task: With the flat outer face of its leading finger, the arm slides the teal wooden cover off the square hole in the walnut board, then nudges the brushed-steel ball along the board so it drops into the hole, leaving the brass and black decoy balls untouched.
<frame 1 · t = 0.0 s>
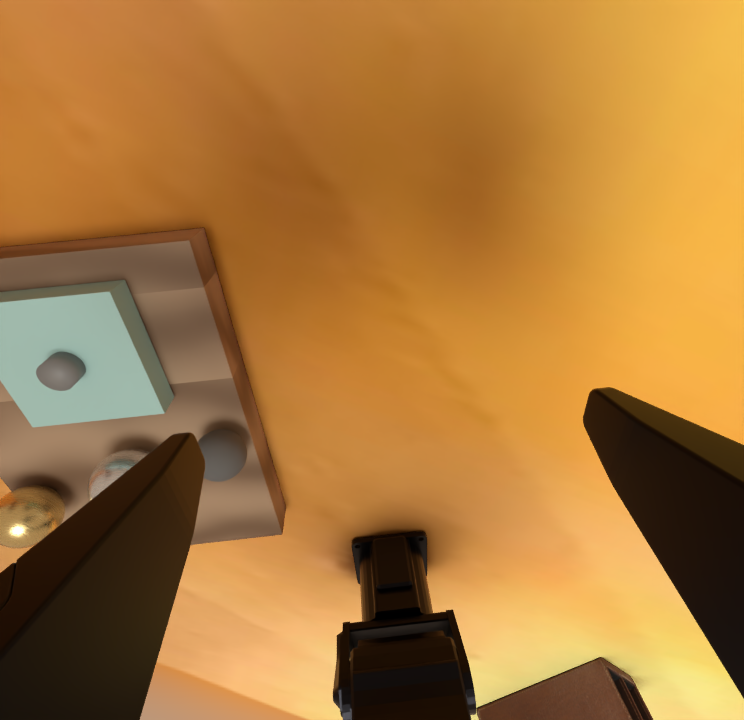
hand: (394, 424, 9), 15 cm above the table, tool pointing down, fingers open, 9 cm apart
steel ball: (129, 483, 23), point 4 cm above the table, touching board
cover: (70, 363, 20), point 4 cm above the table, slide at 0.0 cm
board: (131, 411, 26), on the table
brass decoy: (28, 516, 25), point 4 cm above the table, touching board
black decoy: (220, 455, 24), point 4 cm above the table, touching board
letter holder: (551, 689, 57), on the table
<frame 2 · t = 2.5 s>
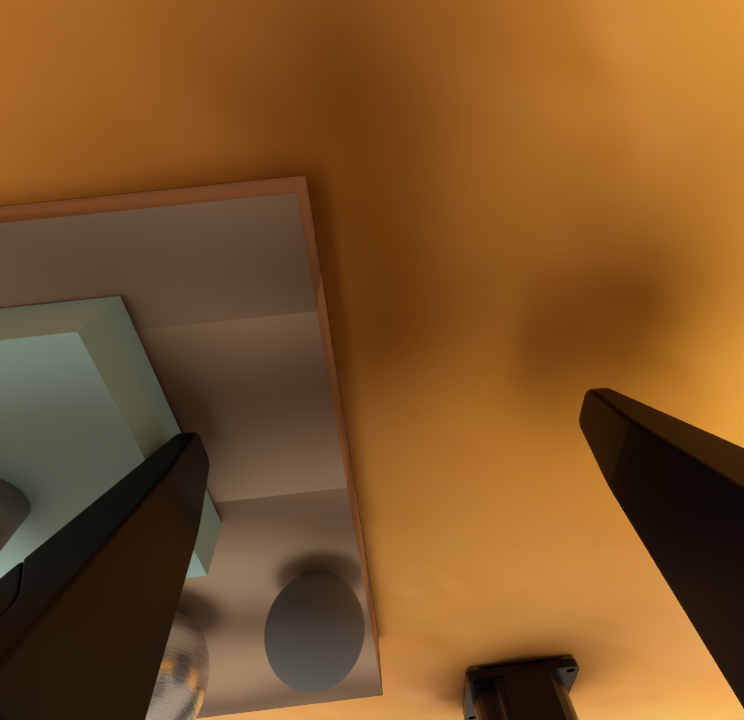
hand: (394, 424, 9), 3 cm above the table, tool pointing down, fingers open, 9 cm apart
steel ball: (138, 684, 12), point 4 cm above the table, touching board
board: (140, 521, 15), on the table
black decoy: (315, 628, 12), point 4 cm above the table, touching board
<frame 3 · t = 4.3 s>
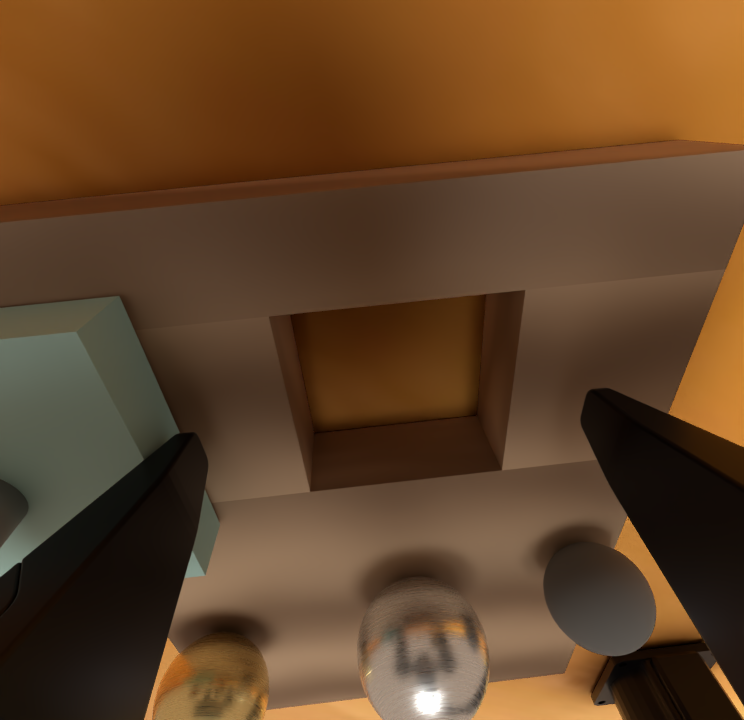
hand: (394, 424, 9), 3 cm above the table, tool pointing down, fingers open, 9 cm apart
steel ball: (421, 650, 12), point 4 cm above the table, touching board
board: (373, 494, 15), on the table
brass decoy: (213, 696, 13), point 4 cm above the table, touching board
black decoy: (596, 595, 12), point 4 cm above the table, touching board
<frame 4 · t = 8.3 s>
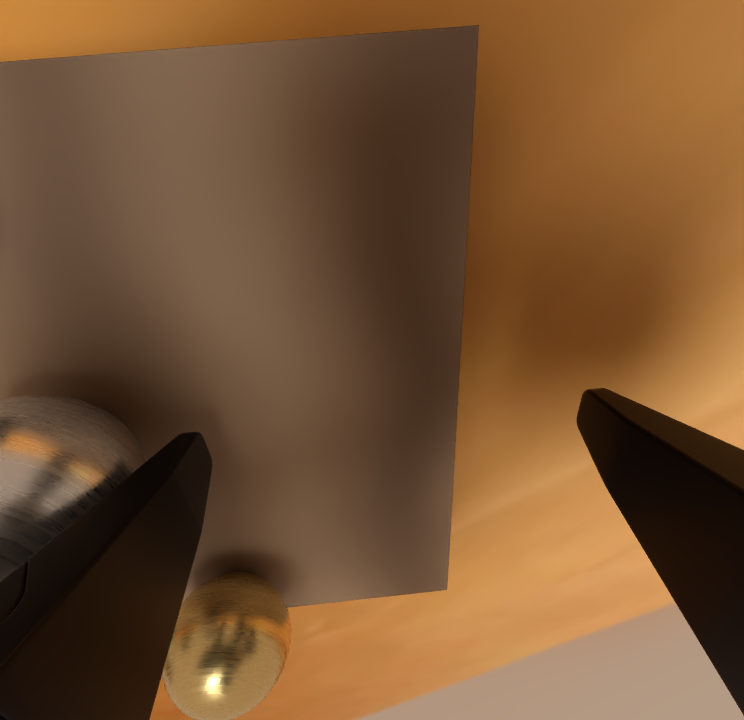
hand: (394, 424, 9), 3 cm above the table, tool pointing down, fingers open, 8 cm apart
steel ball: (33, 495, 8), point 4 cm above the table, touching board, gripper
board: (77, 406, 12), on the table
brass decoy: (229, 640, 12), point 4 cm above the table, touching board
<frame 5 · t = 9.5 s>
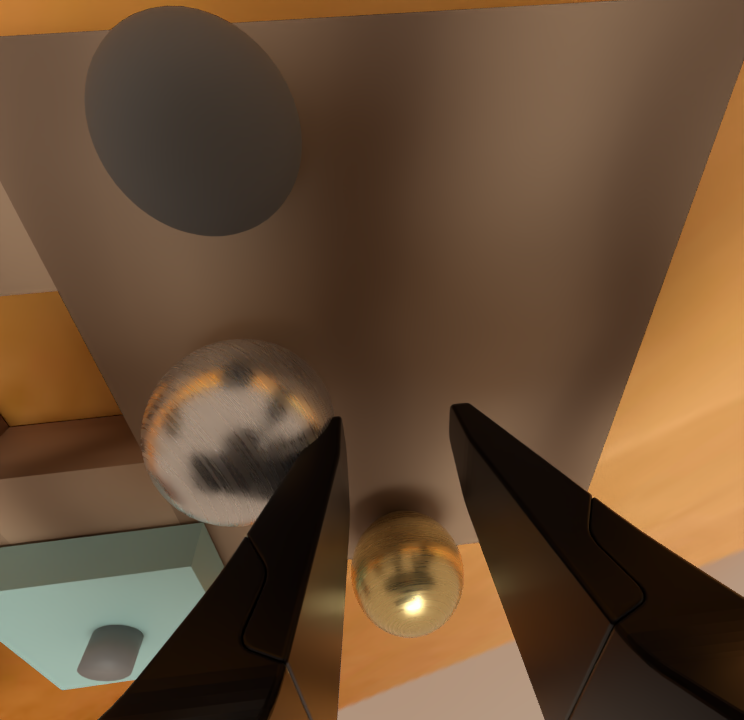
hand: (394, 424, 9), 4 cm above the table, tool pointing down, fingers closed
steel ball: (244, 429, 9), point 4 cm above the table, tilted 46°, touching board, gripper
cover: (121, 628, 14), point 4 cm above the table, slide at 9.1 cm
board: (260, 357, 13), on the table
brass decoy: (406, 570, 13), point 4 cm above the table, touching board
black decoy: (203, 135, 6), point 4 cm above the table, touching board
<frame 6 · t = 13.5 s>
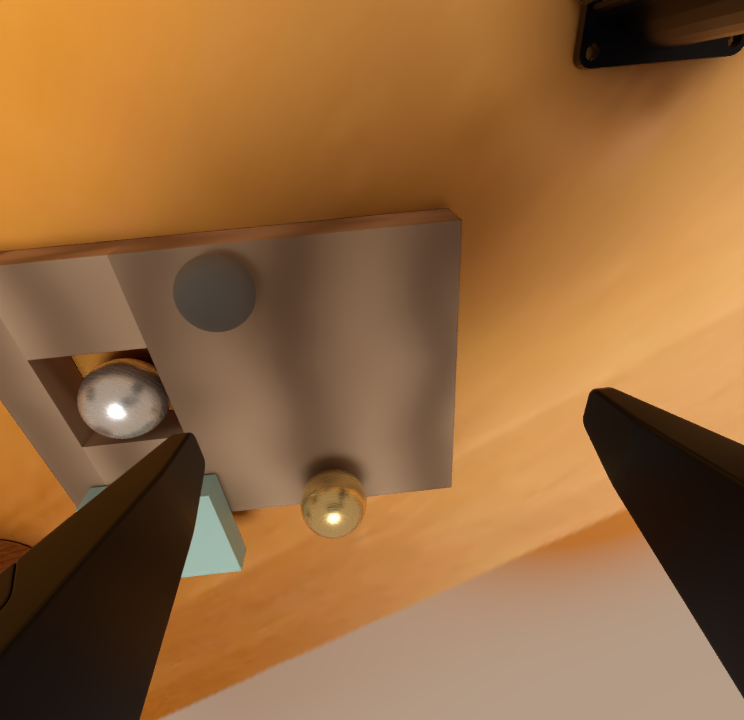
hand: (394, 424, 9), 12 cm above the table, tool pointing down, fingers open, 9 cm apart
steel ball: (126, 398, 20), point 2 cm above the table, tilted 153°
disposable coffee cup: (9, 562, 29), on the table
cover: (167, 539, 23), point 4 cm above the table, slide at 9.1 cm
board: (249, 377, 22), on the table
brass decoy: (333, 502, 22), point 4 cm above the table, touching board
black decoy: (215, 293, 16), point 4 cm above the table, touching board
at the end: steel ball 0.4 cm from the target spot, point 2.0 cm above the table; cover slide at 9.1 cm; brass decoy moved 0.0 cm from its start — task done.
